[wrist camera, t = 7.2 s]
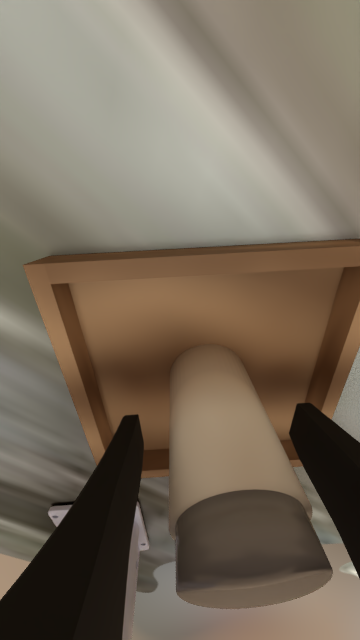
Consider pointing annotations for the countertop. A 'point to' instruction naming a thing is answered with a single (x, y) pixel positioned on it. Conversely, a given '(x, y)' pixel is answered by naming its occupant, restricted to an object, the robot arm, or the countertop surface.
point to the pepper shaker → (234, 492)
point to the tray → (200, 329)
